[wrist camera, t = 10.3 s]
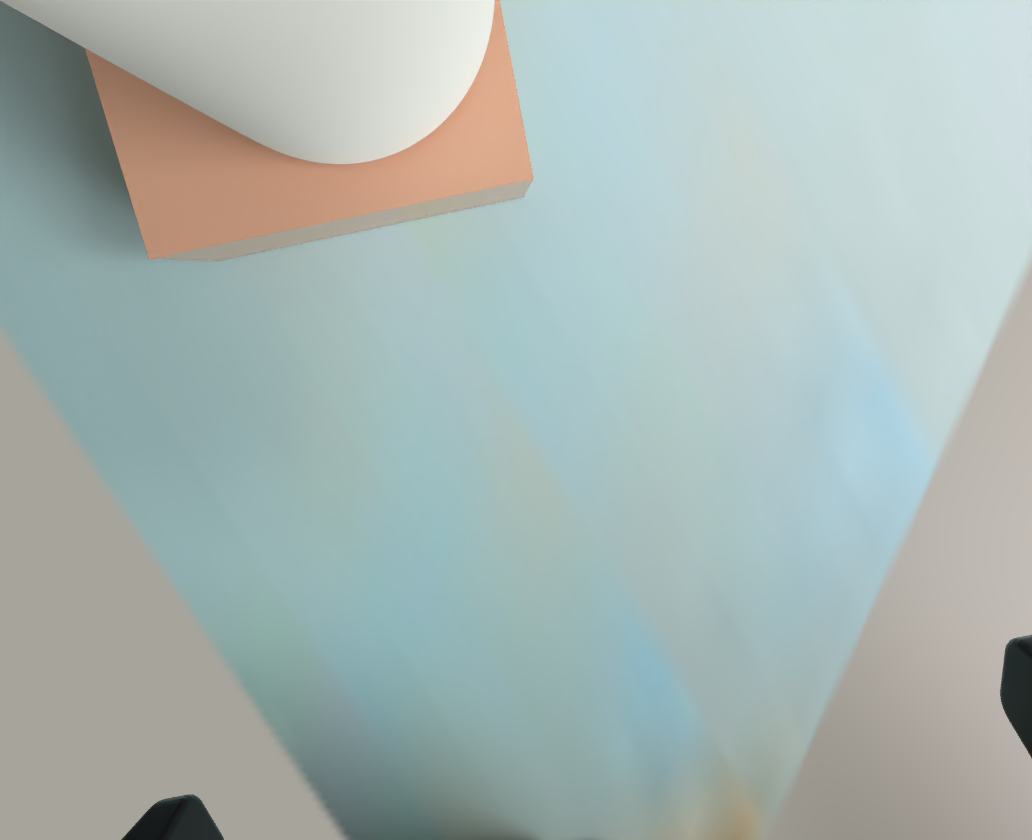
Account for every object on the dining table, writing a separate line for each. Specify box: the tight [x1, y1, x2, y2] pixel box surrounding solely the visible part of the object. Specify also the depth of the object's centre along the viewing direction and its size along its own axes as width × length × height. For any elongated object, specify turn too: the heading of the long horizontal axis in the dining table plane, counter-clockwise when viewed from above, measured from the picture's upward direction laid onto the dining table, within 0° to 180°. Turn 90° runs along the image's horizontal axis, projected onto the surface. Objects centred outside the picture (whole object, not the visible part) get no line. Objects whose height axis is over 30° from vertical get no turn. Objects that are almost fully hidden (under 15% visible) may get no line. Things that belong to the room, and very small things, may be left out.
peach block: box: [85, 0, 533, 261], centre depth 17 cm, size 8×8×4 cm
